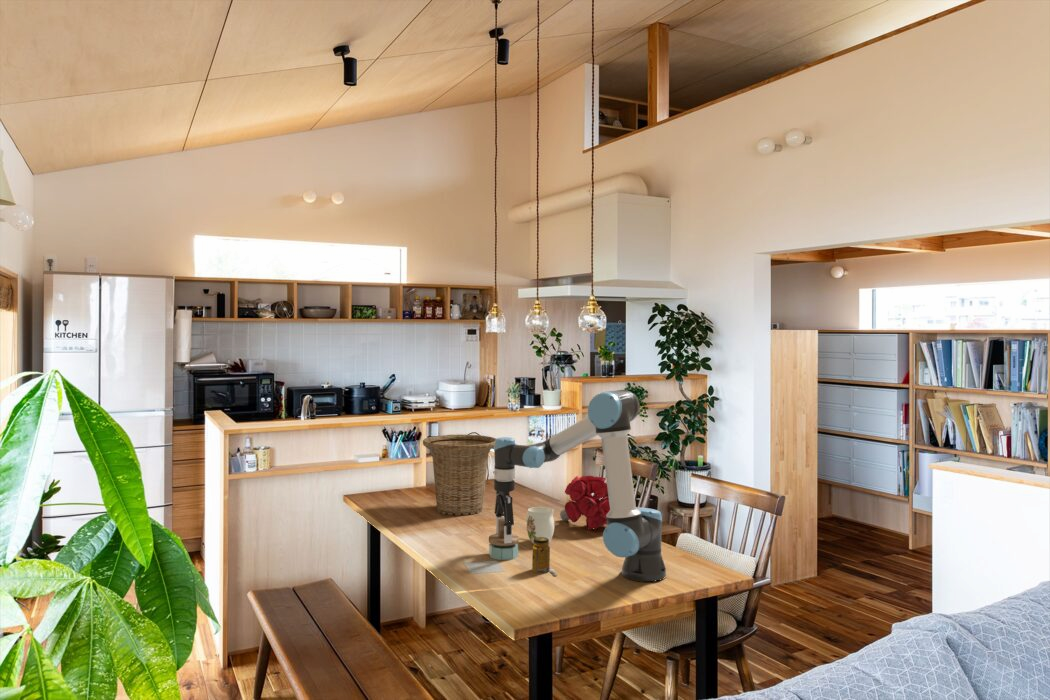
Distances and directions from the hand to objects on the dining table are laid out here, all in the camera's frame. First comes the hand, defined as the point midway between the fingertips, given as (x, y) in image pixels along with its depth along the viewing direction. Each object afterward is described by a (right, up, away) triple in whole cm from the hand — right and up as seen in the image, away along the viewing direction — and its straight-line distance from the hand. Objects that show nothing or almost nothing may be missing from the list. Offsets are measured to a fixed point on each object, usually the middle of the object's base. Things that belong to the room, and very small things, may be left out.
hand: (503, 538), depth 270 cm
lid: (0, -1, 0) cm, 1 cm away
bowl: (0, -7, 0) cm, 7 cm away
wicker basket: (-23, -5, +72) cm, 75 cm away
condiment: (+14, -8, -16) cm, 23 cm away
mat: (-6, -7, -13) cm, 16 cm away
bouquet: (+35, -7, +45) cm, 57 cm away
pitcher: (+14, -7, +21) cm, 26 cm away
